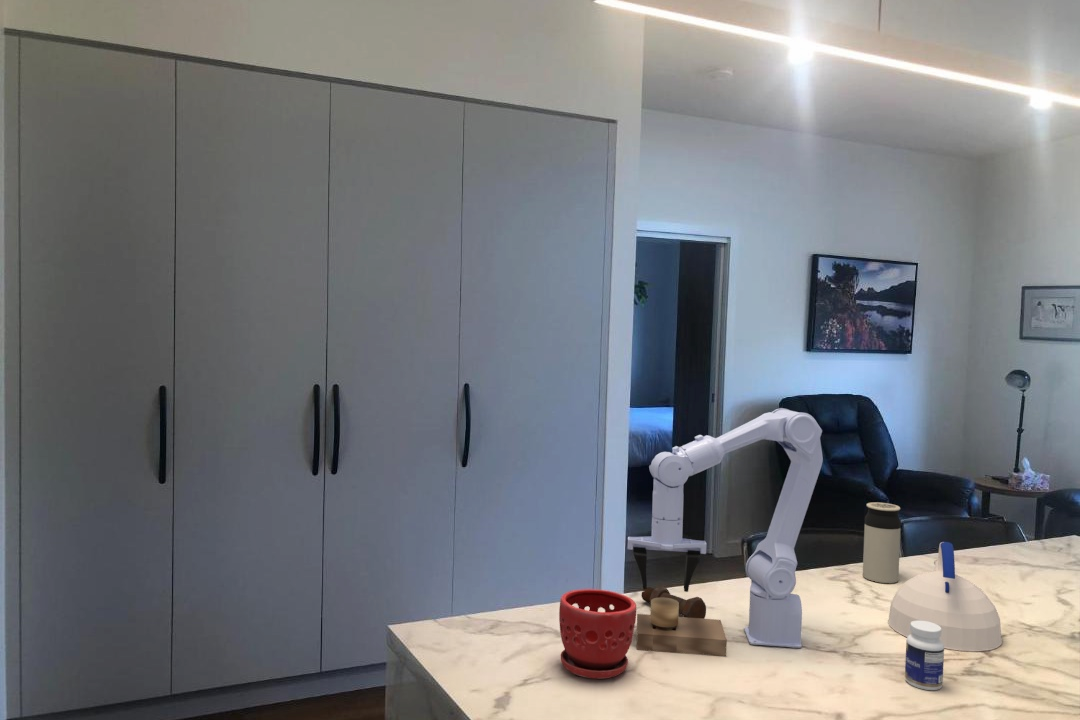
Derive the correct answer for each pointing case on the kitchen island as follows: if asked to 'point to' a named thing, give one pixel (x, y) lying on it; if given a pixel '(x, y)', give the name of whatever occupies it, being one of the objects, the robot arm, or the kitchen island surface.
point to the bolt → (686, 607)
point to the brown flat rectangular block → (683, 636)
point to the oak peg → (664, 613)
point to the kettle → (947, 607)
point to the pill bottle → (924, 656)
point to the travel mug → (881, 543)
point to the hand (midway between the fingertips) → (665, 588)
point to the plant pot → (596, 632)
